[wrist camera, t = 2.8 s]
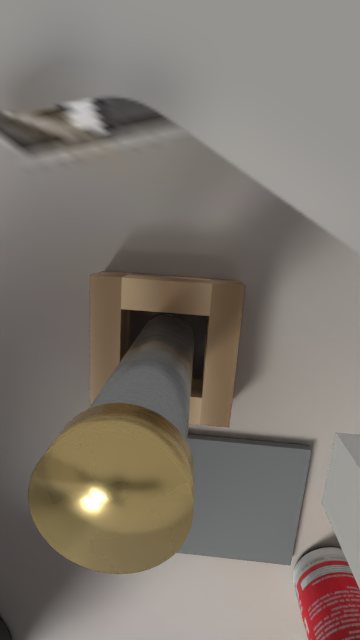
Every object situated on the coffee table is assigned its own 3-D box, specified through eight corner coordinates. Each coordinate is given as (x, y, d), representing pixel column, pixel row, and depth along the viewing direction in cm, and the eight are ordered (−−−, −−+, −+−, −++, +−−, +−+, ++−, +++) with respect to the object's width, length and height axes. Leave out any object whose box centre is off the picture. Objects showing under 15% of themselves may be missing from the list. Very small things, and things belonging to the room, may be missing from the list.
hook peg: (135, 367, 25) (31, 564, 10) (137, 308, 24) (24, 424, 9) (195, 372, 25) (187, 582, 9) (200, 313, 23) (200, 441, 8)
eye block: (102, 394, 25) (89, 414, 23) (103, 271, 23) (89, 275, 20) (225, 406, 25) (229, 427, 22) (239, 280, 23) (245, 286, 20)
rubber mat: (160, 544, 28) (160, 550, 28) (168, 432, 26) (167, 436, 25) (288, 558, 28) (290, 565, 27) (308, 445, 25) (311, 450, 25)
